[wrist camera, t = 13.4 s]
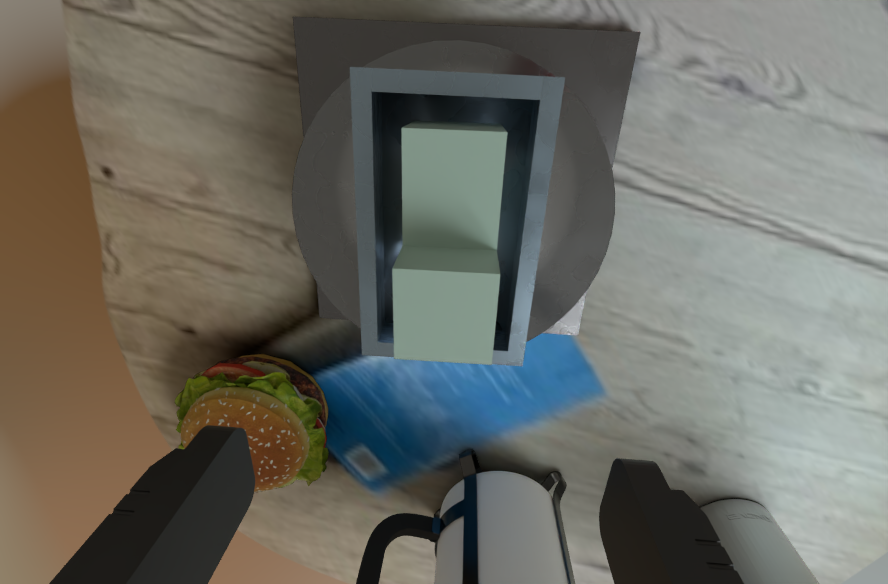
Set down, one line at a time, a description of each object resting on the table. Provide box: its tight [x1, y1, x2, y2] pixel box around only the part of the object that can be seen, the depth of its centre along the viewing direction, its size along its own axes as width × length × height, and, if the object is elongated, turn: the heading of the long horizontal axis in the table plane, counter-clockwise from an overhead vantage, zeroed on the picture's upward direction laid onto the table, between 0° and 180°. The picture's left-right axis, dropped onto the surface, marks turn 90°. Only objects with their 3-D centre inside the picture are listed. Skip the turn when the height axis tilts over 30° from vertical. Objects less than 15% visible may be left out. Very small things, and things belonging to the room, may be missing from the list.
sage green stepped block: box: [392, 120, 507, 365], centre depth 22 cm, size 5×10×8 cm, turn 178°
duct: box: [292, 17, 640, 366], centre depth 28 cm, size 22×22×10 cm
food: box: [175, 354, 329, 492], centre depth 39 cm, size 14×14×8 cm
